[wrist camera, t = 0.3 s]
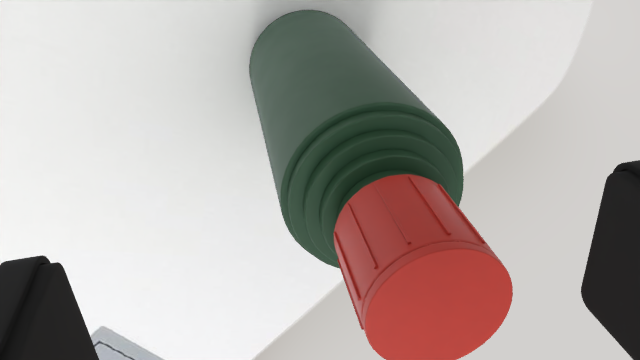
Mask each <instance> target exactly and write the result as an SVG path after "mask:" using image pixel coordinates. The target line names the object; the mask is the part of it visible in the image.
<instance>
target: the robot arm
mask: <svg viewBox="0 0 640 360" xmlns="http://www.w3.org/2000/svg"><path fill="white" fill-rule="evenodd" d="M581 294H582V298H583V301H584V303H585V305H586V307H587V308H588V309H589V310H590V312H591V313H592V314H593V315H594V316H595V317H596V318H597V319H598V321H599V322H600V323H601V324H602V325H603V326H604V327H605V328H606V329H607V331H608V332H609V333H610V334H611V335H612V336H613V337H614V338H615V339H616V341H617V342H618V343H619V344H620V345H621V346H622V347H623V348H624V350H625V351H626V352H627V353H628V354H629V355H630V356H631V357H632V358H633V360H640V160H639V161H632V162H627V163H621V164H619V165H618V166H617V167H616V168H615V169H614V171H613V173H612V174H610V175H609V176H608V177H607V180H606V183H605V188H604V192H603V196H602V200H601V205H600V209H599V214H598V218H597V222H596V226H595V231H594V235H593V239H592V244H591V248H590V252H589V257H588V261H587V265H586V270H585V274H584V278H583V283H582V287H581ZM0 360H99V358H98V356H97V353H96V351H95V348H94V345H93V343H92V340H91V338H90V335H89V332H88V330H87V327H86V325H85V322H84V320H83V317H82V314H81V312H80V309H79V307H78V304H77V301H76V299H75V296H74V294H73V291H72V288H71V286H70V283H69V281H68V278H67V276H66V273H65V270H64V268H63V266H62V265H61V264H60V263H58V262H57V263H50V261H49V260H48V259H47V258H46V257H45V256H36V257H30V258H24V259H17V260H11V261H6V262H3V263H2V264H1V265H0Z"/></svg>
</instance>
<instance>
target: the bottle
mask: <svg viewBox="0 0 640 360" xmlns="http://www.w3.org/2000/svg"><path fill="white" fill-rule="evenodd" d="M249 70H250V79H251V84H252V88H253V92H254V97H255V101H256V105H257V109H258V114H259V118H260V122H261V126H262V131H263V135H264V139H265V143H266V148H267V152H268V156H269V160H270V165H271V169H272V173H273V177H274V182H275V186H276V190H277V194H278V199H279V203H280V207H281V211H282V215H283V218H284V221H285V224H286V226H287V228H288V230H289V232H290V233H291V235H292V236H293V237H294V239H295V240H296V241H297V242H298V243H299V244H300V245H301V246H302V247H303V248H304V249H305V250H307V251H308V252H309V253H311V254H312V255H314V256H315V257H316V258H318V259H319V260H321V261H323V262H325V263H326V264H329V265H331V266H334V267H337V268H340V266H339V263H338V261H337V259H339V258H338V255H337V253H336V249H335V245H334V235H333V233H334V229H335V224H336V222H337V219H338V217H339V214H340V213H341V211H342V209H343V207H344V205H345V204H346V203H347V202H348V201H349V200H350V199H351V198H352V196H353V195H355V194H356V193H357V192H358V191H359V190H360V189H361V188H363V187H364V186H366V185H368V184H370V183H372V182H374V181H376V180H379V179H381V178H384V177H387V176H393V175H403V174H412V175H417V176H421V177H425V178H427V179H430V180H432V181H434V182H436V183H437V184H440V185H441V186H442V187H443V188H444V190H445V191H446V192H447V193H448V195H449V196H450V197H451V199H452V200H453V201H454V202H455V204H456V205H457V206H458V207H459V204H460V200H461V197H462V191H463V164H462V157H461V153H460V149H459V147H458V145H457V142H456V140H455V138H454V137H453V135H452V134H451V132H450V131H449V129H448V128H447V127H446V126H445V125H444V124H443V123H442V122H441V121H440V120H439V119H438V118H437V117H436V116H435V115H434V114H433V113H432V112H431V111H430V110H429V109H428V108H427V107H426V106H425V105H424V104H423V103H422V102H421V101H420V100H419V99H418V98H417V96H416V95H415V94H414V93H413V92H412V91H411V90H410V89H409V88H408V87H407V86H406V85H405V84H404V83H403V82H402V81H401V80H400V79H399V78H398V77H397V76H396V75H395V74H394V73H393V72H392V71H391V70H390V69H389V68H388V67H387V66H386V65H385V64H384V63H383V62H382V61H381V60H380V59H379V58H378V57H377V56H376V55H375V54H374V53H373V52H372V51H371V50H370V49H369V48H368V47H367V46H366V45H365V44H364V43H363V42H362V41H361V40H360V39H359V38H358V37H357V36H356V35H355V34H354V33H353V32H352V31H351V30H350V29H349V27H348V26H347V25H346V24H344V23H343V22H342V21H341V20H339V19H338V18H336V17H334V16H332V15H330V14H327V13H324V12H321V11H314V10H302V11H296V12H292V13H289V14H287V15H284V16H282V17H280V18H278V19H277V20H275V21H274V22H273V23H271V24H270V25H269V26H268V27H267V28H266V29H265V30H264V31H263V32H262V34H261V35H260V36H259V38H258V39H257V41H256V43H255V45H254V48H253V50H252V54H251V58H250V66H249Z"/></svg>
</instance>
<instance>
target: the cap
mask: <svg viewBox="0 0 640 360" xmlns="http://www.w3.org/2000/svg"><path fill="white" fill-rule="evenodd" d="M333 235H334V245H335V249H336V253H337V255H338V258H339V259H337V261H338V263H339V266H340V269H341V272H342V275H343V278H344V281H345V283H346V286H347V289H348V292H349V294H350V298H351V300H352V303H353V306H354V309H355V312H356V314H357V317H358V320H359V323H360V326H361V328H362V329H364V331H365V333H366V336H367V339H368V341H369V343H370V345H371V346H372V348H373V349H374V350H375V351H376V352H377V353H378V354H379V355H380V356H381V357H383V358H384V359H386V360H456V359H459V358H461V357H463V356H465V355H467V354H469V353H470V352H472V351H474V350H475V349H477V348H478V347H479V346H481V345H482V344H483V343H485V342H486V341H487V340H488V339H489V338H490V337H491V336H492V335H493V334H494V333H495V332H496V331H497V329H498V328H499V327H500V326H501V324H502V322H503V321H504V319H505V317H506V315H507V313H508V311H509V308H510V305H511V302H512V295H513V293H512V282H511V278H510V276H509V274H508V271H507V270H506V268H505V267H504V265H503V264H502V263H501V261H500V260H499V259H498V257H497V256H496V255H495V254H494V252H493V251H492V250H491V249H490V247H489V246H488V245H487V243H486V242H485V241H484V240H483V238H482V237H481V236H480V234H479V233H478V232H477V230H476V229H475V228H474V227H473V225H472V224H471V223H470V222H469V220H468V219H467V218H466V216H465V215H464V214H463V212H462V211H461V210H460V209H459V207H458V206H457V205H456V204H455V202H454V201H453V200H452V199H451V197H450V196H449V195H448V193H447V192H446V191H445V190H444V188H443V187H442V186H441V185H440V184H437V183H436V182H434V181H432V180H430V179H427V178H425V177H421V176H417V175H412V174H403V175H393V176H387V177H384V178H381V179H379V180H376V181H374V182H372V183H370V184H368V185H366V186H364V187H363V188H361V189H360V190H359V191H358V192H357V193H356V194H355V195H353V196H352V198H351V199H350V200H349V201H348V202H347V203H346V204H345V205H344V207H343V209H342V211H341V213H340V214H339V217H338V219H337V222H336V224H335V229H334V233H333Z"/></svg>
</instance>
